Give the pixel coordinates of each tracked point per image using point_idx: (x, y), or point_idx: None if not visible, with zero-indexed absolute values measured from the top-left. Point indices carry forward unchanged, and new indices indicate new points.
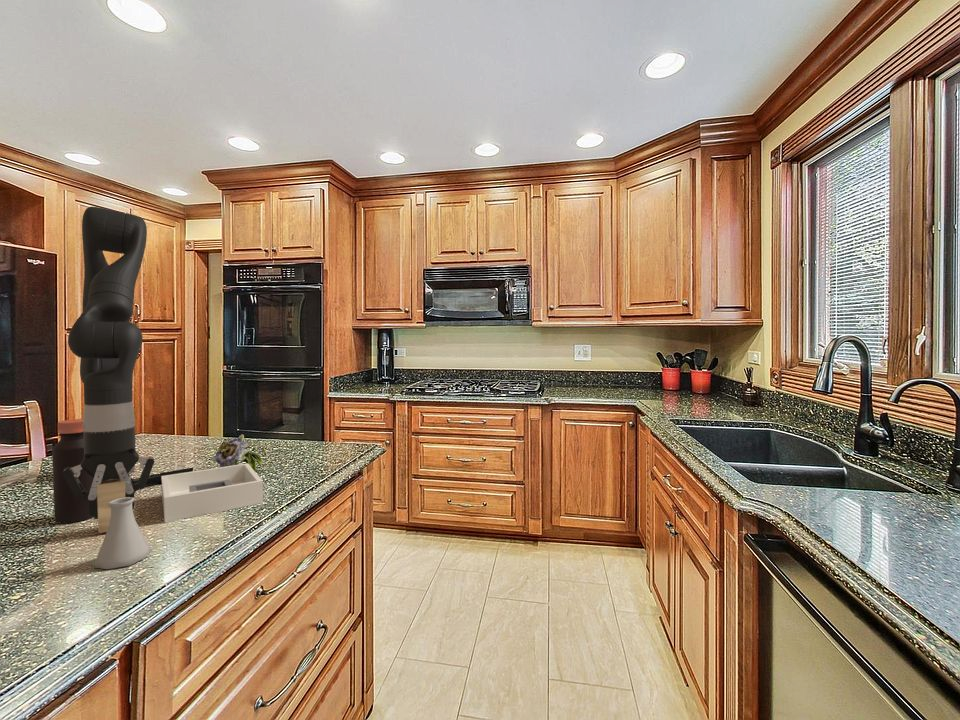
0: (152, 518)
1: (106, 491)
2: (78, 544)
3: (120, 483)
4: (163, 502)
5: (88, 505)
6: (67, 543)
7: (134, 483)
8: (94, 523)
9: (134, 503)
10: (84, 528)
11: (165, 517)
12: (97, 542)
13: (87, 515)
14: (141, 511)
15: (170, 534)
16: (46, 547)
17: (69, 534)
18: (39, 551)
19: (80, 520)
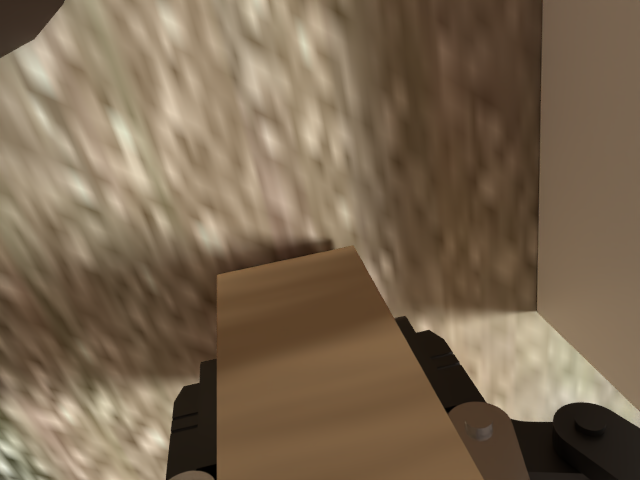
0: (479, 208)
1: None
2: None
3: None
4: (591, 181)
5: (11, 21)
6: (121, 421)
7: (538, 474)
8: (139, 143)
9: (447, 347)
10: (111, 221)
11: (557, 326)
12: None
13: (36, 30)
14: (405, 5)
15: None
16: (33, 438)
17: (62, 295)
18: (26, 474)
19: (5, 54)
